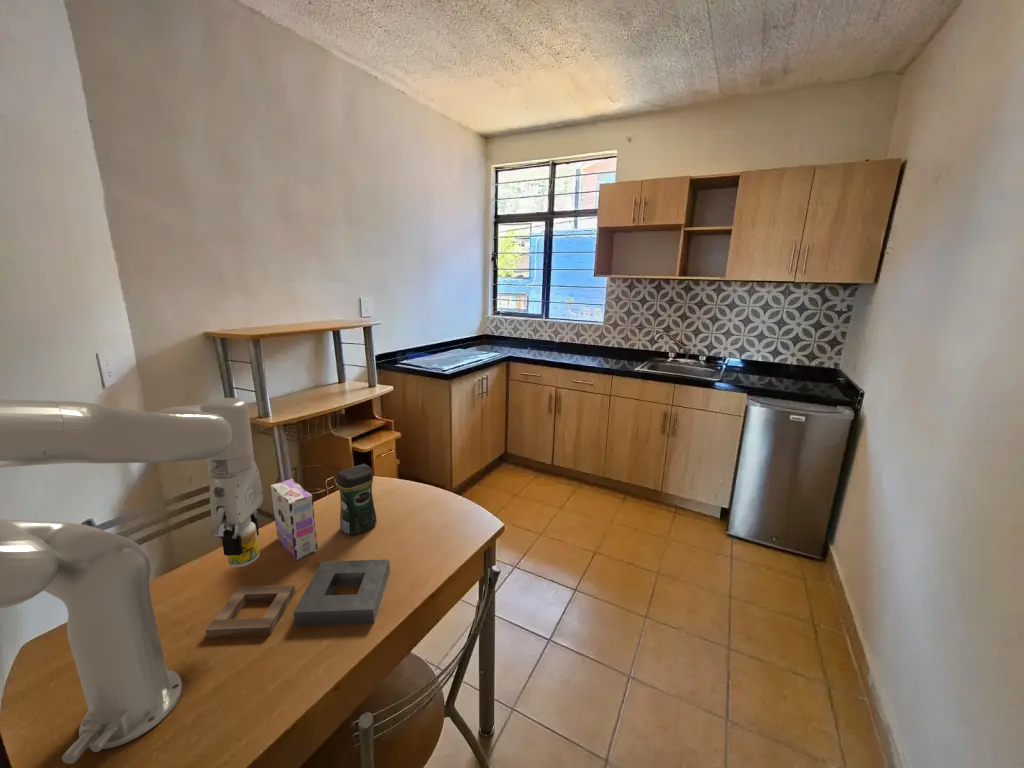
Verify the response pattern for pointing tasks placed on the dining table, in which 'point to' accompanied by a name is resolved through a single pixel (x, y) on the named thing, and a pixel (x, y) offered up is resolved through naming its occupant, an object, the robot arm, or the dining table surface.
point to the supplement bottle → (245, 544)
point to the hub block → (343, 609)
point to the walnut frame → (253, 626)
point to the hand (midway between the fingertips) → (242, 544)
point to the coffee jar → (356, 499)
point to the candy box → (294, 518)
